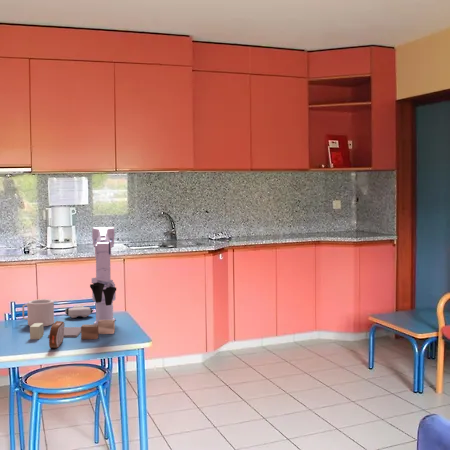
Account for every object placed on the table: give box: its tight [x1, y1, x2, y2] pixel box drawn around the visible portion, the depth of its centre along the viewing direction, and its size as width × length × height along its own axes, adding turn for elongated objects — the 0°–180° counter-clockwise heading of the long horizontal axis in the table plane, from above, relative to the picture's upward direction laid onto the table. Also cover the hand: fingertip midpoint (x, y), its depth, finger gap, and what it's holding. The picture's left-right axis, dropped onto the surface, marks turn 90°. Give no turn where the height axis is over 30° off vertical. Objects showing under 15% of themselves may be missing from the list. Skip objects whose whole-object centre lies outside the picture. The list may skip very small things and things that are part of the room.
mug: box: [21, 298, 55, 327], centre depth 247 cm, size 14×11×10 cm
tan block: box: [98, 319, 116, 335], centre depth 233 cm, size 4×6×5 cm, turn 92°
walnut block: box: [80, 323, 100, 340], centre depth 224 cm, size 4×6×5 cm, turn 92°
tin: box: [48, 320, 65, 349], centre depth 214 cm, size 15×3×8 cm, turn 4°
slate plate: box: [48, 326, 81, 338], centre depth 232 cm, size 13×11×1 cm
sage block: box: [29, 323, 45, 340], centre depth 226 cm, size 4×6×5 cm, turn 2°
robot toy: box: [64, 305, 95, 319], centre depth 264 cm, size 12×4×15 cm
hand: (103, 303), depth 231 cm, fingers open, 7 cm apart
